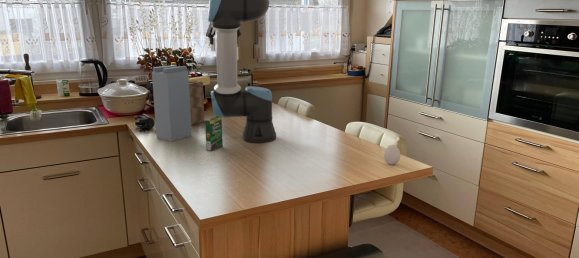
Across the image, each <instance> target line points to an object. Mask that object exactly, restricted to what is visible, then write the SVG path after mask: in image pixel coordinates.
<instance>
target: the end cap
mask: <svg viewBox="0 0 579 258" xmlns="http://www.w3.org/2000/svg"><path fill="white" fill-rule="evenodd" d="M134 120H135V122H134V124H135V129H136V130H137V131H139V132H140V133H143V132H148V131H149V132H150V131H152V129H153V128H154V127H155V126H156V123H155V119H154V118H153V117H151V116H150V115H148V114H146V113H142V114H141V115H134ZM136 120H138V121H136ZM142 131H143V132H142Z"/></svg>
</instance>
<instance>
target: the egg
mask: <svg viewBox="0 0 579 258" xmlns="http://www.w3.org/2000/svg"><path fill="white" fill-rule="evenodd" d="M383 160H384V161H385V163H387V164H388V165H392V166H394V165H396V164H397V163H398V162H399V161H400V160H401V151H400V149H399V148H398V146H397V145H395V144H390V145H388V146H387V147H386V148H385V150H384V151H383Z"/></svg>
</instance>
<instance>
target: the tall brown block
mask: <svg viewBox="0 0 579 258" xmlns="http://www.w3.org/2000/svg"><path fill="white" fill-rule="evenodd" d="M189 94H190V113H191V126H192V125H197V124H199V123H205V105H204V104H205V103H204V85H203V82H194V83H189Z"/></svg>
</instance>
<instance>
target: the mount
mask: <svg viewBox="0 0 579 258" xmlns="http://www.w3.org/2000/svg"><path fill="white" fill-rule="evenodd" d="M189 78H190V77H189V70H188V69H187V66H185V65H182V66H177V65H176V64H173V65H165V66H155V67H152V71H151V79H152V80H151V81H152V95H153V103H154V104H153V107H154V122H155V135H156V139H160V140H163V141H167V142H170V143H172V142H174V141H178V140H182V139H185V138H189V137H192V125H191V113H190V94H189Z"/></svg>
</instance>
